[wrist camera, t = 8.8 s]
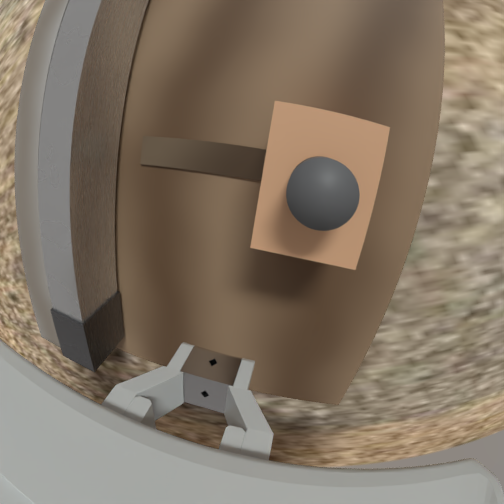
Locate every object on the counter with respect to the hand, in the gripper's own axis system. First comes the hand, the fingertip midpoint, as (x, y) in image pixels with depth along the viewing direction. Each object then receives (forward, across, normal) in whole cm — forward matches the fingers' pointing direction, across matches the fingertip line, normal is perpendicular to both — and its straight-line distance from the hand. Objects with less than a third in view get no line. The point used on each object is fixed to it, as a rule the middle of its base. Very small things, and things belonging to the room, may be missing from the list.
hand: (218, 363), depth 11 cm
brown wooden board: (+3, -3, +8) cm, 10 cm away
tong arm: (+2, -7, +8) cm, 10 cm away
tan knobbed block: (+2, +2, +8) cm, 8 cm away
